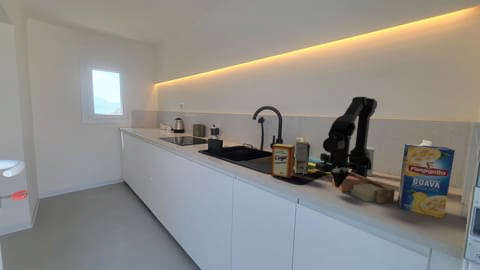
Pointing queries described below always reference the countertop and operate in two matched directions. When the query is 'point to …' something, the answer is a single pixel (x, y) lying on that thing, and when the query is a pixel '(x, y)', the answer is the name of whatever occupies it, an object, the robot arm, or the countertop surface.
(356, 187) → the pale green block
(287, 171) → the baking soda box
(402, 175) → the beverage box
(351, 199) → the countertop surface
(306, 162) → the grey drink carton
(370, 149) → the skincare box
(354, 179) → the reddish brown block
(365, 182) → the shelf wall
